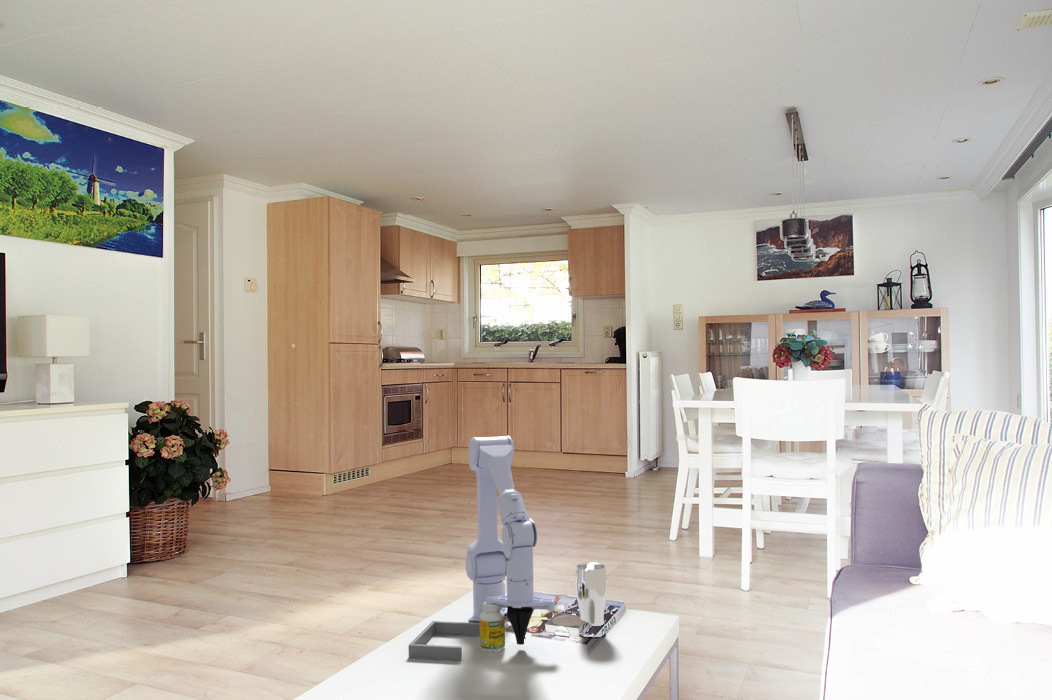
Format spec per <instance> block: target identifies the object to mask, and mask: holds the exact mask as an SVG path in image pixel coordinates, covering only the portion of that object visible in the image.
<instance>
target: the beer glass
mask: <svg viewBox="0 0 1052 700" xmlns="http://www.w3.org/2000/svg"><path fill="white" fill-rule="evenodd" d="M575 566H576V569H575V593H576V599H577V605H578V610H579V611H578V612H579V620H580V619H581V620H583V621H586V622H589V623H590V624H591V625H592V626H601V625H603V624H604V625H605V619H604V615H605V607H606V601H607V593H608V592H607V591H608V590H607V589H608V586H607V585H608V582H607V571H606V565H605V564H604V563H599V562H584V563H583V562H582V563H578V564H577V565H575Z"/></svg>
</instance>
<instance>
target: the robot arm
mask: <svg viewBox="0 0 1052 700" xmlns="http://www.w3.org/2000/svg"><path fill="white" fill-rule="evenodd" d="M514 455H515V445H514V441H513V439H512V438H511V436H510V435H505V436H503V435H502V436H484V437H482V436H481V437H476V436H473V437H472V438H471V439H470V441H469V444H468V466H469V470H471V471H472V472H473V471H474V472H475V475H476V476H475V477H476V502H477V503H476V507H477V510H476V511H477V512H476V513H477V539H475V540H474V541H473V542H472V543H471V544H469V545H468V546H467V548H466V557H465V572H466V575H467V578H468V579H469V580H470V581H472V589H473V590H472V593H473V594H472V601H473V603H472V604H473V605H472V606H473V607H472V608H473V613H472V614H471V615H470V617H468V621H469V622H480V614H481V613H482V612H483V609H482V603H483V602H485V601H486V604H492V603H495V604H501V605H500V606H501V610H500V611H502V612H503V613H505V612H506V611H507V612H506V617H507V618H508V621H509V622H510V625H511V627H512V630H513V632H514V635H515V640H516V645H521V646H522V645H525V643H524V639H525V640H526V637H525V635H527V630H528V627H529V624H530V621H531V618H532V615H533V614H534V611H535V610H542V611H543V610H546V611H549V612H554V611H555V608H556V605H555V604H556V599H555V598H547V597H539V596H534V595H535V594H534V590H535V589H534V547H536V545H537V541H538V531H537V530H538V529H537V527H536V522H535V520H533V519H532V518H531V516H530V515H528V513H527V509H526V507H525V503H524V499H523V496H522V494H521V492H519V491H517V490H515V483H514V480H513V474H512V468H511V465H512V463H513V459H514ZM497 491H498V492H497ZM497 493H498V495H497ZM497 496H498V497H497ZM498 512H499V517H500V519H501V523H502V528H501V540H500V539H499V537H498V533H499V532H498ZM505 580H506V584H505V582H504V581H505ZM505 585H506V586H505Z"/></svg>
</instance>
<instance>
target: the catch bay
mask: <svg viewBox="0 0 1052 700" xmlns="http://www.w3.org/2000/svg"><path fill="white" fill-rule="evenodd" d="M436 633H438V634H439V635H441V634H442V635H455V634H461V635H460V636H474V635H480V622H460V621H439V620H432V621H431V622H430V623H429V624H428V625H427V626H426V627H425V628H424V629H423V630H422V631H421V632H420V633H419V634H418V635H417V636H416V637H415V638H414V639H413V640H412V641H411V642H410V643H409V644H408V658H411V659H413V658H414V659H429V660H447V661H462V659H463V657H462V656H463V652H462V649H463V648H462V646H455V645H437V644H436V645H435V644H427V643H428V641H430V640H431V639H432V637H433V636H434V635H435V634H436ZM438 634H437V635H438Z"/></svg>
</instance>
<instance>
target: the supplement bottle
mask: <svg viewBox="0 0 1052 700" xmlns="http://www.w3.org/2000/svg"><path fill="white" fill-rule="evenodd" d="M500 605H501V604H495V603H492V604H486V601H485V602H483V603H482V609H483V612H482V613H481V614H480V621H479V623H480V636H479V646H480V649H481V651H483V650H484V652H486V651H489V652H488V653H494V652H493V651H498V652H500V651H499V650H501V651H503V650H504V649H505V648H504V647H506V631H505V630H506V625H505V624H506V623H505V618H506V616H504V613H503V612H502V611H500V610H501V606H500ZM503 648H504V649H503ZM502 649H503V650H502Z"/></svg>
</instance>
